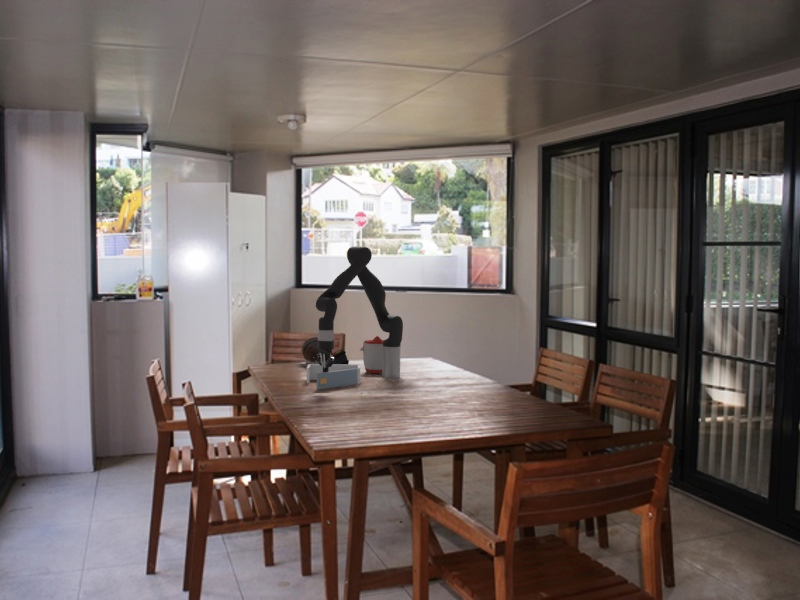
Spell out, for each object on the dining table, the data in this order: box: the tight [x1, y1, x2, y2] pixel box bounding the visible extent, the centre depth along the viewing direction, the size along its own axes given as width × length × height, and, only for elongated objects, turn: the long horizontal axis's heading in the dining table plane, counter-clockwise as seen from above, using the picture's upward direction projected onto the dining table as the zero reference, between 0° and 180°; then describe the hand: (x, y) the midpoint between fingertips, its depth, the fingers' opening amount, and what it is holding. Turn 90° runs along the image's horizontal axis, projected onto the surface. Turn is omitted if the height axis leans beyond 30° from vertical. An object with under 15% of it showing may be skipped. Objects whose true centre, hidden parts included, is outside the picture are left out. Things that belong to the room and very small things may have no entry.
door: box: [316, 369, 358, 390], centre depth 351 cm, size 2×23×8 cm, turn 131°
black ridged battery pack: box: [332, 348, 350, 365], centre depth 381 cm, size 4×13×15 cm, turn 112°
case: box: [306, 364, 361, 385], centre depth 364 cm, size 12×26×9 cm, turn 93°
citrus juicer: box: [359, 335, 385, 374], centre depth 401 cm, size 16×17×20 cm
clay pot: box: [301, 336, 320, 365], centre depth 419 cm, size 15×15×25 cm
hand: (325, 375), depth 349 cm, fingers closed
